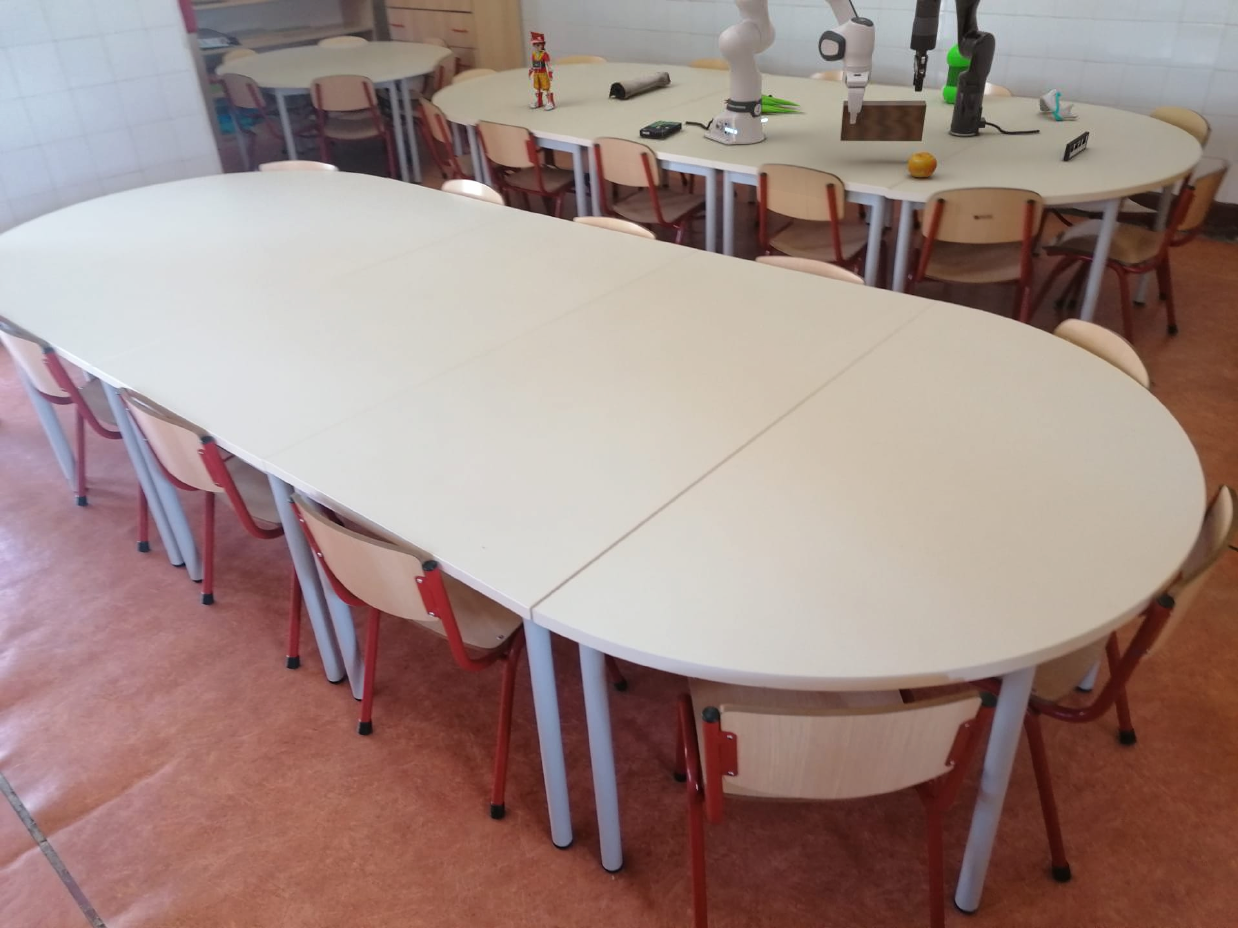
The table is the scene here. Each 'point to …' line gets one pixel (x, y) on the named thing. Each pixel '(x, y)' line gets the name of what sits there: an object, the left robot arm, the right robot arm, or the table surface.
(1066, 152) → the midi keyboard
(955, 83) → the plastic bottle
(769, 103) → the toy
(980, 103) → the right robot arm
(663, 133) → the disk drive
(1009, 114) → the table surface
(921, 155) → the fruit
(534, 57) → the toy
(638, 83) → the rolled mat
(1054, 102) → the white and teal piece
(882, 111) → the box
